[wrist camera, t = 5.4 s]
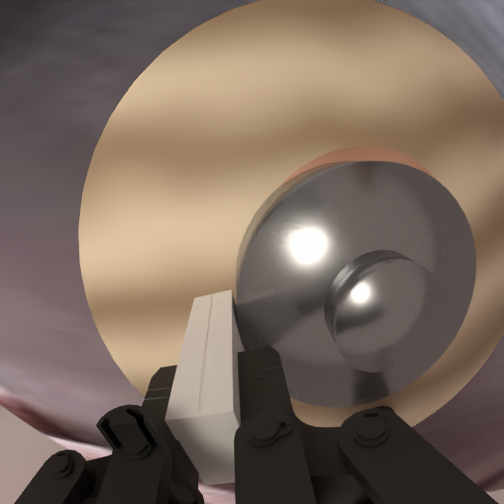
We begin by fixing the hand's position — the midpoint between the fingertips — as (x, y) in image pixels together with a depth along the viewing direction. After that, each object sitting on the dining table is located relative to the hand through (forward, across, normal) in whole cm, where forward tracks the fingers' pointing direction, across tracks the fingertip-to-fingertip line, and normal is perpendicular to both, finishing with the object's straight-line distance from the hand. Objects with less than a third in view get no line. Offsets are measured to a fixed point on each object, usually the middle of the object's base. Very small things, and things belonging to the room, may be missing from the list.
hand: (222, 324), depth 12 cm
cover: (+1, +6, 0) cm, 6 cm away
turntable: (+4, +7, 0) cm, 8 cm away
